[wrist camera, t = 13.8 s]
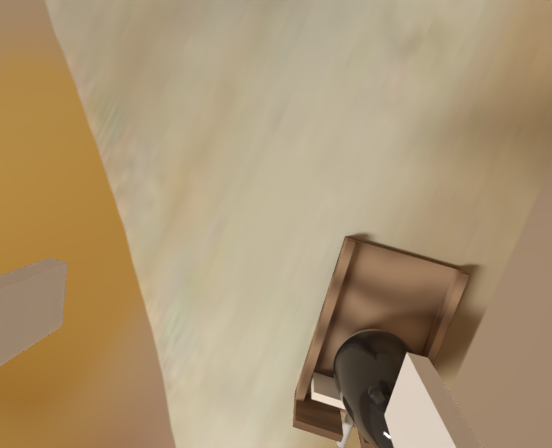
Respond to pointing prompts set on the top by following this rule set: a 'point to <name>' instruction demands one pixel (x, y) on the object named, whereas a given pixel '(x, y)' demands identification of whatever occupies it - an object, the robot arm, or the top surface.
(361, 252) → the brown wooden tray
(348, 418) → the pusher
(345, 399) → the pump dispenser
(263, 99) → the top surface
